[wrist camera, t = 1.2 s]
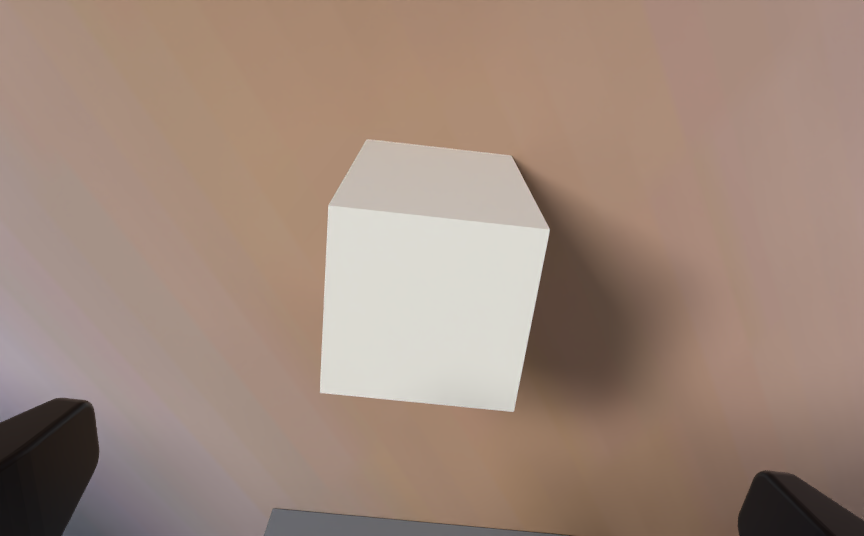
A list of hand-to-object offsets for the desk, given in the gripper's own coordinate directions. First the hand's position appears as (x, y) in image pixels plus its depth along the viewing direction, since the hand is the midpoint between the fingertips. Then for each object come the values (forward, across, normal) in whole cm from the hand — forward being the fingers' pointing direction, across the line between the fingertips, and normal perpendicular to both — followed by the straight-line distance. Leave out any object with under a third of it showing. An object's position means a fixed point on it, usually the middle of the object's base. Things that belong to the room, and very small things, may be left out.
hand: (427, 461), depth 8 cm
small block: (+12, 0, 0) cm, 12 cm away
